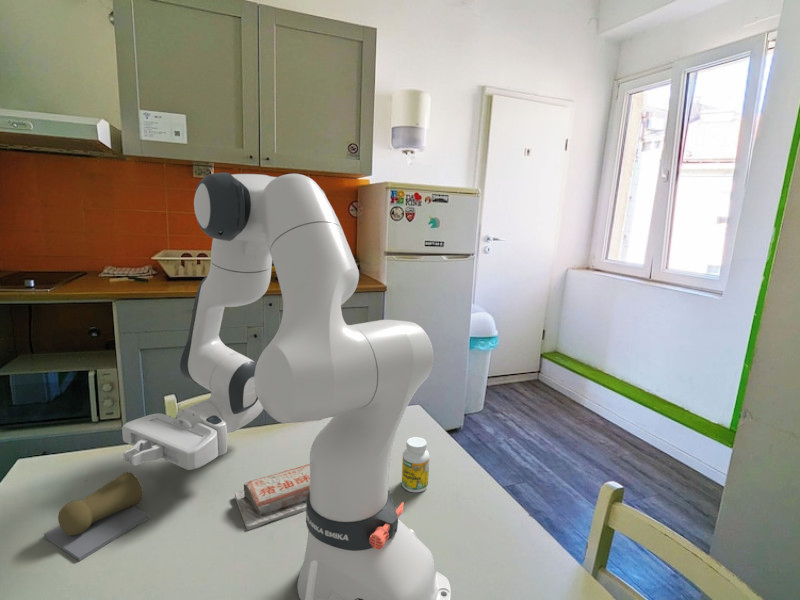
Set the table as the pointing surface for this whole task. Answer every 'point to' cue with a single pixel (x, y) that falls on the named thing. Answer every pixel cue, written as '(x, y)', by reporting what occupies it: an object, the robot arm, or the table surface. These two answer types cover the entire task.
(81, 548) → the mat
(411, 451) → the supplement bottle
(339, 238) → the robot arm
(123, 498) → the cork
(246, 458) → the table surface
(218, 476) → the table surface
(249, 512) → the packaged product
